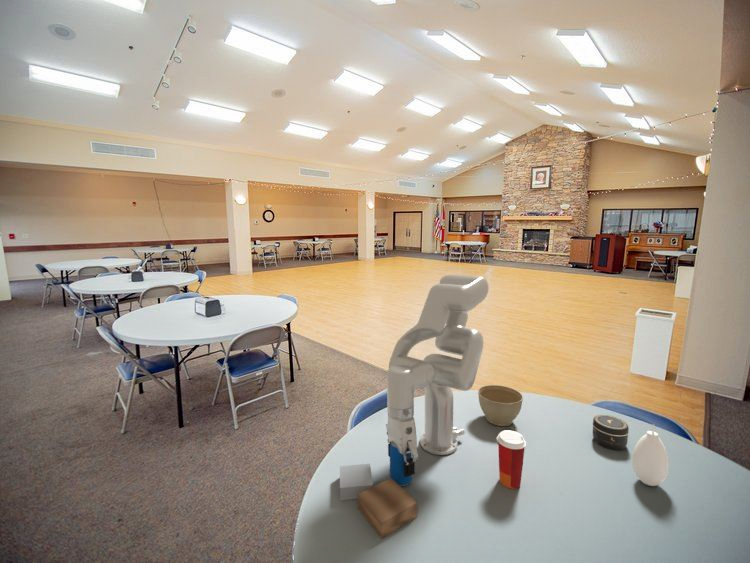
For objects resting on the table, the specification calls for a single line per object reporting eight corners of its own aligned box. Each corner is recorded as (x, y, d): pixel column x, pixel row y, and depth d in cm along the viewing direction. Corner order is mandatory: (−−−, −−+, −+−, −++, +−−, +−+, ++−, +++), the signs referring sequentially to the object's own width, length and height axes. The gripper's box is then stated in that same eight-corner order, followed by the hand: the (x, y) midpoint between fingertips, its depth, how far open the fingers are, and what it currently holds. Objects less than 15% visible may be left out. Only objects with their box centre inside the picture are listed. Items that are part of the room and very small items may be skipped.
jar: (595, 447, 114) (596, 426, 113) (589, 432, 123) (590, 412, 122) (631, 454, 110) (633, 432, 109) (622, 437, 119) (623, 417, 118)
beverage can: (411, 489, 96) (410, 449, 95) (388, 486, 97) (387, 447, 96) (413, 474, 102) (413, 436, 101) (391, 471, 104) (391, 434, 102)
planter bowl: (529, 431, 124) (530, 403, 122) (484, 432, 124) (485, 403, 122) (512, 409, 139) (513, 384, 138) (472, 410, 140) (473, 384, 138)
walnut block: (391, 490, 96) (391, 477, 95) (417, 516, 87) (417, 502, 86) (357, 508, 90) (357, 494, 89) (381, 538, 80) (381, 522, 80)
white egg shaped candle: (657, 497, 92) (663, 434, 89) (625, 479, 99) (630, 421, 96) (671, 487, 95) (677, 426, 93) (639, 470, 102) (644, 414, 100)
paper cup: (523, 476, 101) (525, 431, 99) (525, 494, 93) (527, 446, 92) (495, 470, 103) (496, 427, 101) (495, 488, 96) (496, 441, 94)
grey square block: (370, 475, 102) (370, 463, 102) (373, 498, 93) (372, 485, 93) (340, 478, 101) (339, 466, 101) (340, 501, 92) (339, 487, 92)
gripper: (428, 420, 91) (428, 479, 93) (398, 394, 106) (398, 445, 109) (403, 427, 88) (403, 488, 90) (376, 399, 103) (377, 451, 106)
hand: (400, 464), depth 99 cm, fingers open, 9 cm apart
